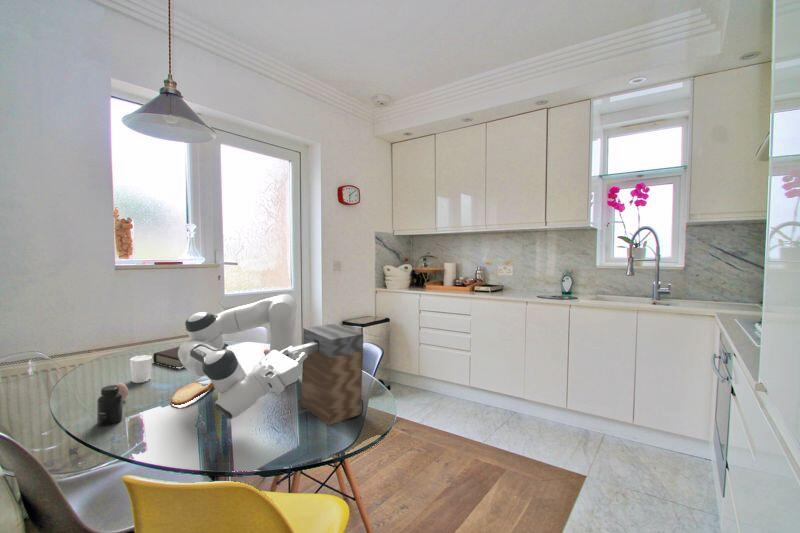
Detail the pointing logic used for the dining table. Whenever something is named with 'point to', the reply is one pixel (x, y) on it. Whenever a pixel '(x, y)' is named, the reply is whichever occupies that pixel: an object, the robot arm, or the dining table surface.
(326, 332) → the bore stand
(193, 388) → the slice of bread
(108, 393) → the supplement bottle
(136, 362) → the white cup
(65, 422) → the dining table surface
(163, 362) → the book
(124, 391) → the egg
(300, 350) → the steel bar
